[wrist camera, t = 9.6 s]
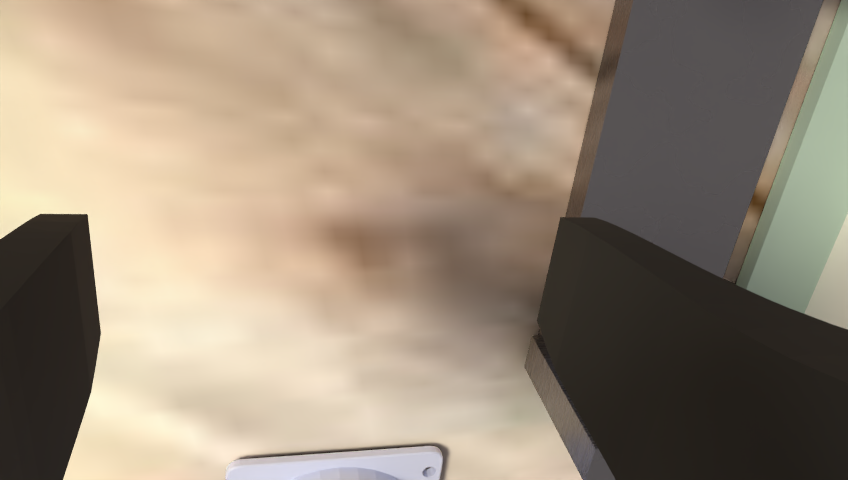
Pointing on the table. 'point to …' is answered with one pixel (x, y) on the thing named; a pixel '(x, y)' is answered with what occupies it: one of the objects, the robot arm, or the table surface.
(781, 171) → the mat
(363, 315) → the table surface
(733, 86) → the rack
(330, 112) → the table surface
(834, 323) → the rail
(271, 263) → the table surface
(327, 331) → the table surface
